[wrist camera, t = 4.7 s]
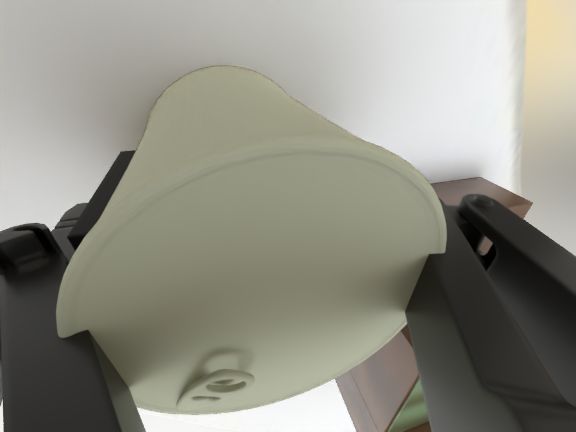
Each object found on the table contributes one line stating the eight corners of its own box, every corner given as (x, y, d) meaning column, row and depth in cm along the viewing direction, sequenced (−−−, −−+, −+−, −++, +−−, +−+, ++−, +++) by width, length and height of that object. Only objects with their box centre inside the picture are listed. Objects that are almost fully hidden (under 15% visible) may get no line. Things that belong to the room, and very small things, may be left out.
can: (109, 167, 14) (-63, 438, 5) (214, 17, 12) (295, -55, 2) (243, 239, 19) (291, 436, 10) (333, 143, 17) (506, 277, 8)
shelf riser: (357, 194, 20) (615, 444, 8) (480, 176, 23) (810, 338, 11) (326, 359, 34) (403, 546, 21) (407, 335, 36) (515, 488, 24)
